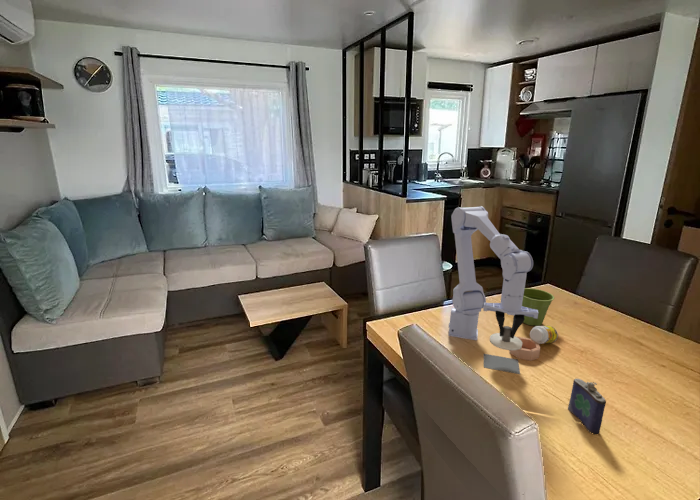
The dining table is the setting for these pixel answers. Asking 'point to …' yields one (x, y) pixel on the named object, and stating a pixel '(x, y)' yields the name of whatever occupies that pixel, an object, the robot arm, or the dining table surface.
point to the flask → (587, 405)
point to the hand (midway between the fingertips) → (506, 335)
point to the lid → (506, 340)
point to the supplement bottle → (543, 334)
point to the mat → (501, 363)
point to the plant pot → (536, 304)
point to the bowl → (527, 349)
